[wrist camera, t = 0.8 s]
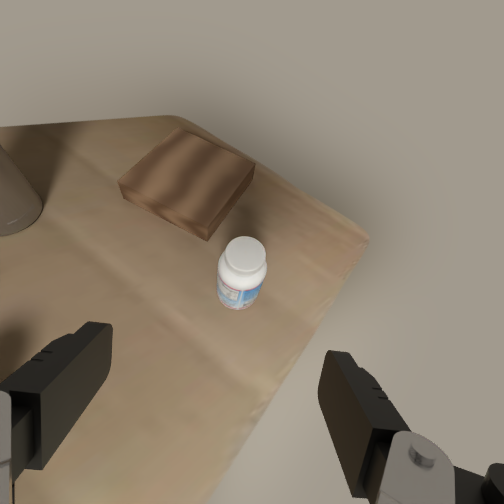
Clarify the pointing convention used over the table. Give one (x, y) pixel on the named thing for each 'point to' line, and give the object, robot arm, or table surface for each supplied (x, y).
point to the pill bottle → (241, 272)
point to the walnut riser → (188, 182)
